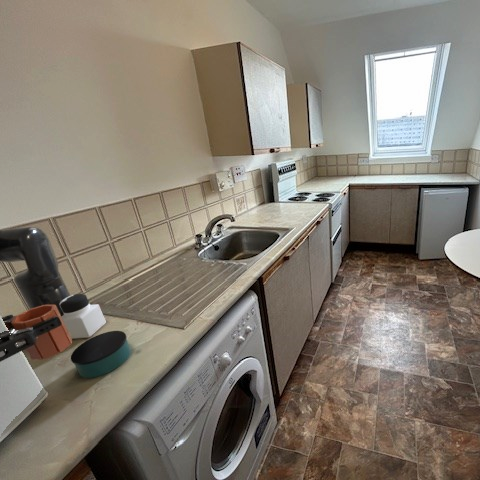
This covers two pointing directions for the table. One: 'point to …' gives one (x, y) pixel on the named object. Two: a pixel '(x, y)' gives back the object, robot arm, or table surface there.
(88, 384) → the table surface
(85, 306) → the medicine bottle
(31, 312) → the terracotta cup
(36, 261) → the robot arm
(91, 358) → the teal tin
